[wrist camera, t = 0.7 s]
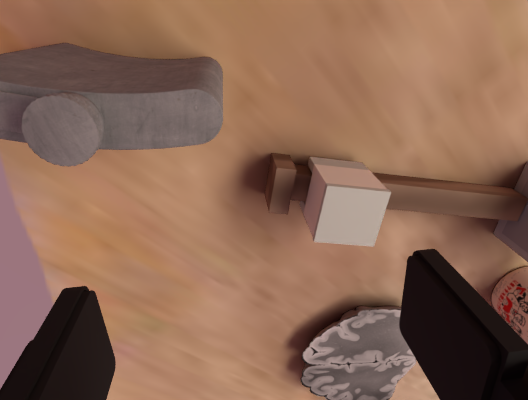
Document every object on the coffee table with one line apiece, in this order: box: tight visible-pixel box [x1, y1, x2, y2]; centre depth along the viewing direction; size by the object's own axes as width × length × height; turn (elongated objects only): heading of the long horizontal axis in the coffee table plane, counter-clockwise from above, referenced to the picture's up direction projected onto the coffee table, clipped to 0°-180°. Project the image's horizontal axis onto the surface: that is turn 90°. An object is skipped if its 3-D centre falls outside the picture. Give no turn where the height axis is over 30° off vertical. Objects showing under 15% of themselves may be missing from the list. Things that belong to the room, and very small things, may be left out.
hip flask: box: [0, 43, 223, 166], centre depth 27 cm, size 16×4×20 cm, turn 84°
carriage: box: [299, 157, 391, 247], centre depth 39 cm, size 6×6×8 cm
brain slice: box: [301, 306, 416, 400], centre depth 55 cm, size 20×17×3 cm
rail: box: [265, 153, 528, 221], centre depth 43 cm, size 5×30×4 cm, turn 81°
